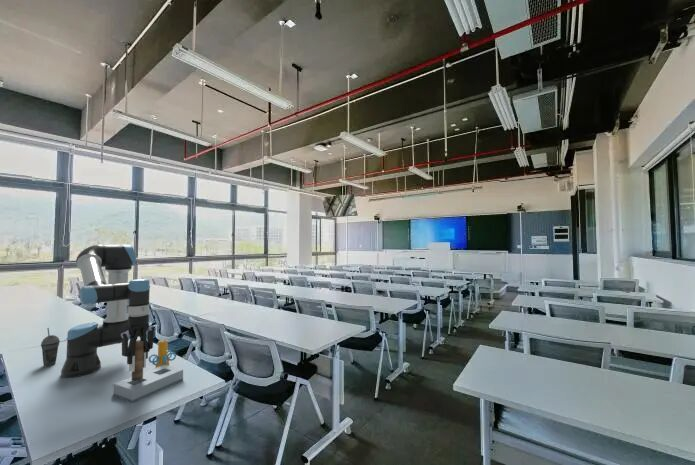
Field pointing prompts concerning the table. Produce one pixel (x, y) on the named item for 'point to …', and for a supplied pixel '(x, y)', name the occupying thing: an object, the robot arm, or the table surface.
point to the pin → (138, 360)
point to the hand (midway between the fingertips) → (137, 368)
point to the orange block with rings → (162, 355)
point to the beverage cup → (50, 349)
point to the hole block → (147, 383)
